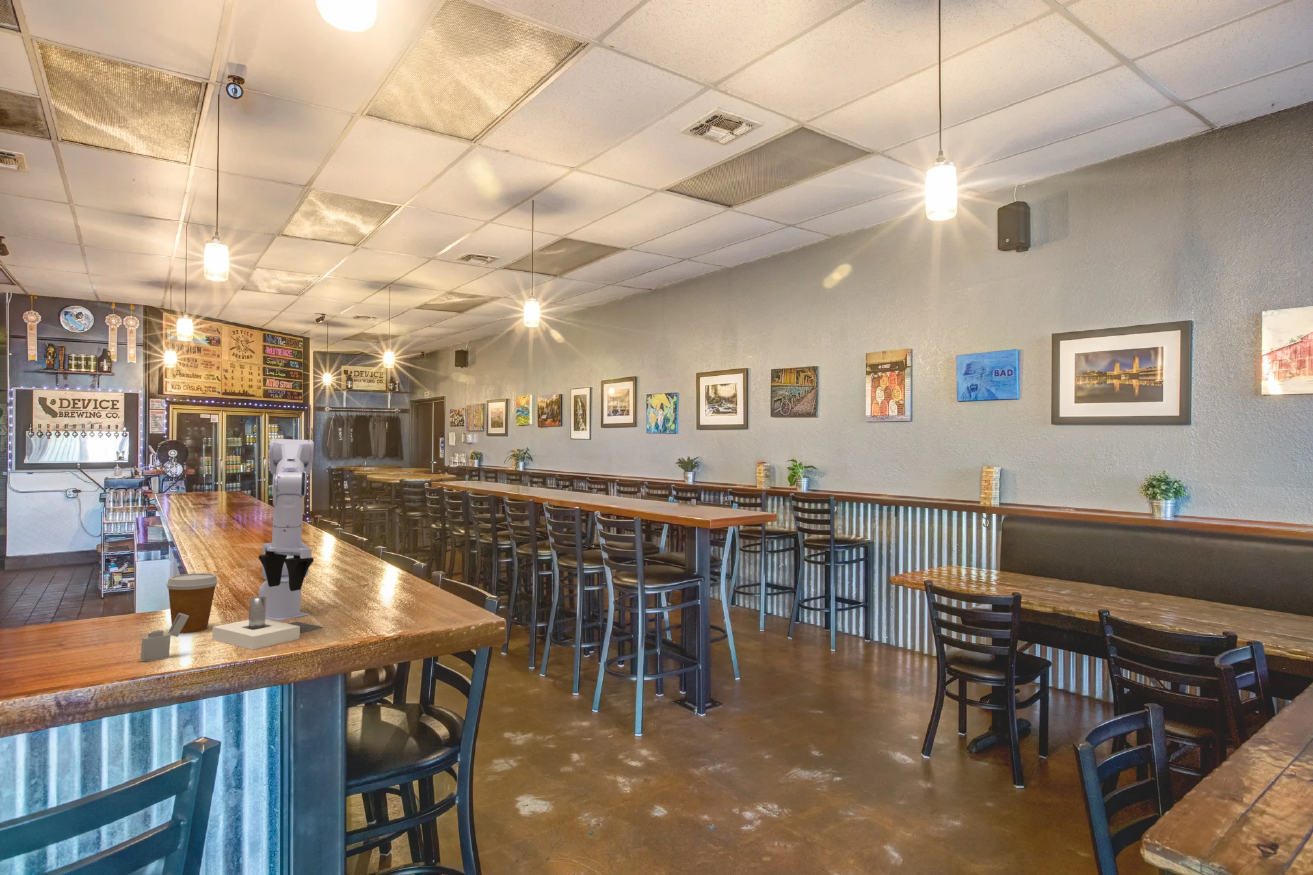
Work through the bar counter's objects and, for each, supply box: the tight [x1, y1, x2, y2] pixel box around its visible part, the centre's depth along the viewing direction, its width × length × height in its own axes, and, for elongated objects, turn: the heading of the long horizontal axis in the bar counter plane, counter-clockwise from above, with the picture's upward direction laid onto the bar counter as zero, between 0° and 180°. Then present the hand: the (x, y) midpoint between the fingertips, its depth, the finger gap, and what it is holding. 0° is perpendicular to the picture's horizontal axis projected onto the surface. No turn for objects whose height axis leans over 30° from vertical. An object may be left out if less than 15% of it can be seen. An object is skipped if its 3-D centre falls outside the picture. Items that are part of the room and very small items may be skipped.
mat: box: [287, 621, 326, 634], centre depth 152 cm, size 10×8×1 cm
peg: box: [248, 596, 266, 630], centre depth 142 cm, size 3×3×9 cm
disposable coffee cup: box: [165, 572, 219, 634], centre depth 148 cm, size 10×10×12 cm
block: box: [211, 618, 301, 651], centre depth 142 cm, size 14×10×3 cm
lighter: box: [140, 613, 189, 663], centre depth 129 cm, size 7×2×8 cm, turn 144°
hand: (284, 588), depth 148 cm, fingers open, 7 cm apart
